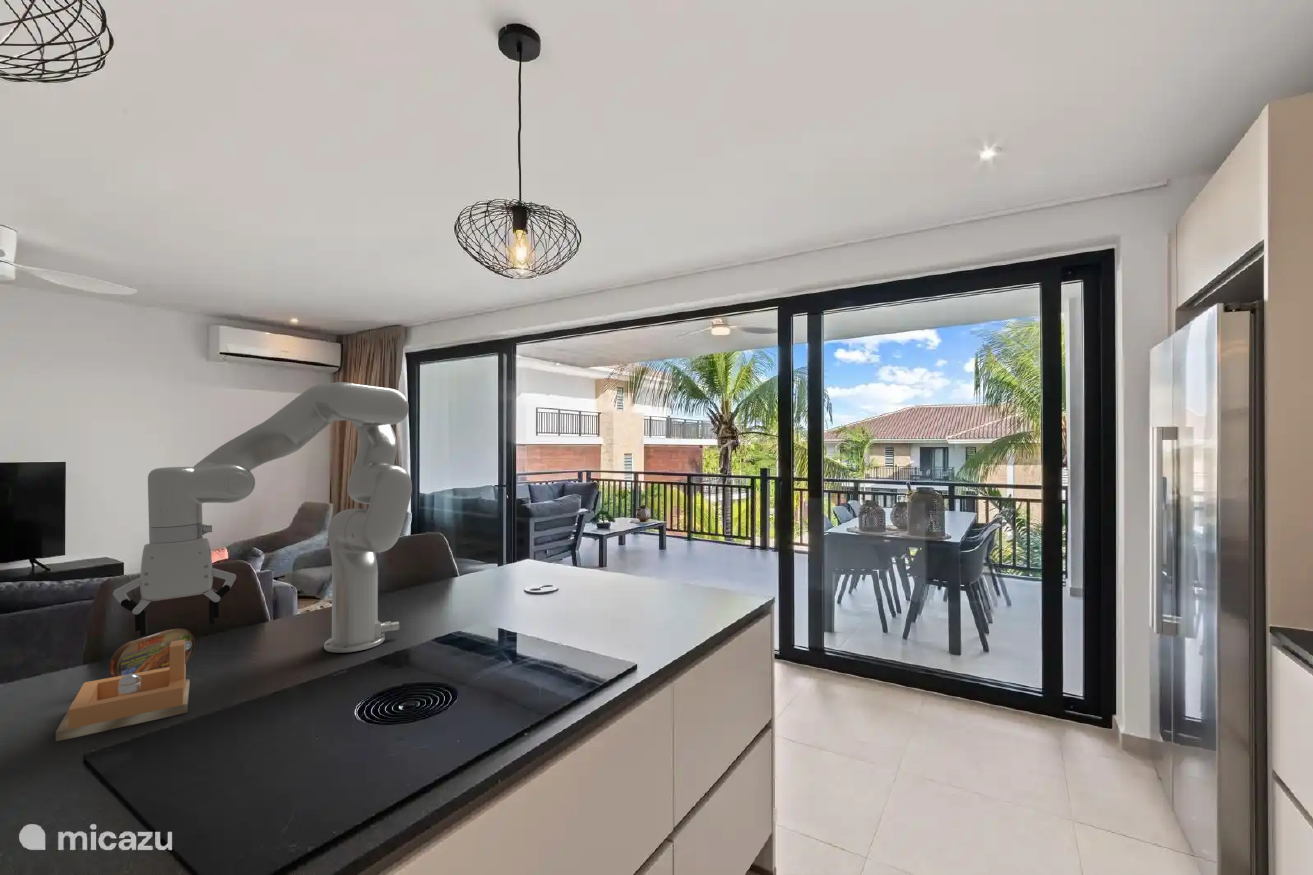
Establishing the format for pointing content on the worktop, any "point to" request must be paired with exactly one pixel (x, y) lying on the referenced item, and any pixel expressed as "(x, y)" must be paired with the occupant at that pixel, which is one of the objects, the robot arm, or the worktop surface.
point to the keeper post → (129, 684)
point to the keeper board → (121, 719)
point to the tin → (149, 652)
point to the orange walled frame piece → (96, 710)
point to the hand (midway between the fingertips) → (178, 628)
